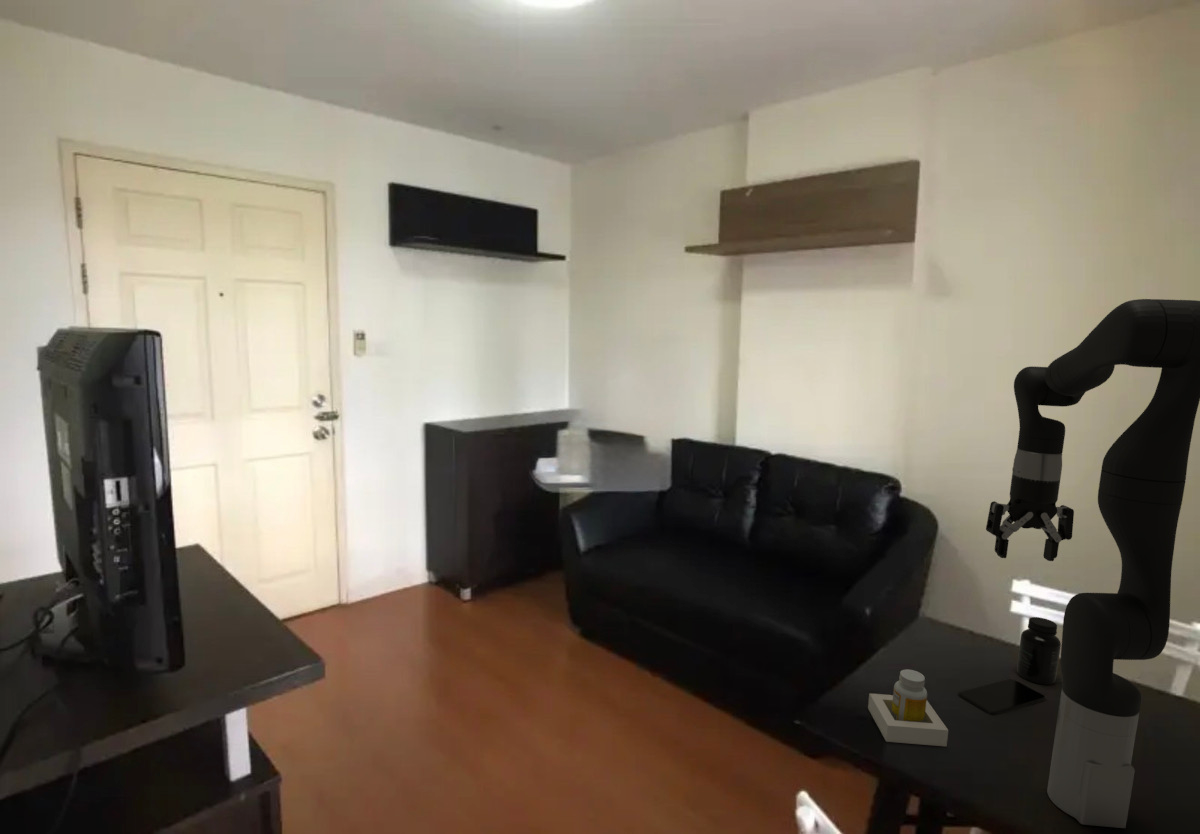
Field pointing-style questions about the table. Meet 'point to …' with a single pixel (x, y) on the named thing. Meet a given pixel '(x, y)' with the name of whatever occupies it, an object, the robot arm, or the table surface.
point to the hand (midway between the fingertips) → (1024, 558)
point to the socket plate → (907, 724)
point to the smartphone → (1001, 696)
